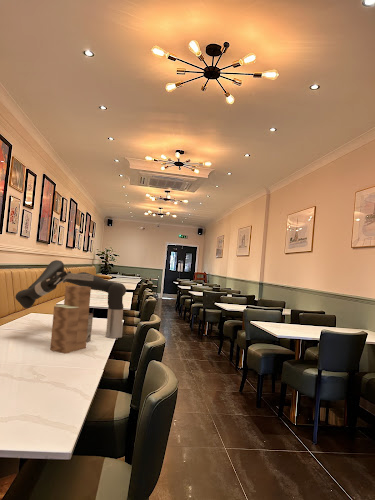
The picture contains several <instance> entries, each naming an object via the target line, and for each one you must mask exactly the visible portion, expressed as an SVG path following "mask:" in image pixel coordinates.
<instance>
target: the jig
mask: <svg viewBox="0 0 375 500" xmlns="http://www.w3.org/2000/svg"><path fill="white" fill-rule="evenodd" d="M64 289H65V291H64V301H63V304H62V305H61V304H60V305H59V304H58V305H54V307H53V316H52V327H51V336H50V337H51V339H50V348H49V349H50V351H51V352H52V351H53V352H57V353H62V354H69V353H72V352H76V351H79V350H84V349H86V348H87V342H86V340H87V329H88V317H89V313H90V304H91V303H90V302H91V291H92V289H91V287H85V286H79V285H65V288H64Z"/></svg>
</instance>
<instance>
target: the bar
mask: <svg viewBox="0 0 375 500" xmlns="http://www.w3.org/2000/svg"><path fill="white" fill-rule="evenodd" d="M61 273H62V272H57V275H58V274H61ZM66 273H67V272H66ZM94 275H95V274H92V275H88V274H76V273H73V272H71V273H67V275H66V276H64V277H62V278H65V279H76V280H87V281H93V278H94Z"/></svg>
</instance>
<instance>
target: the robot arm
mask: <svg viewBox="0 0 375 500" xmlns="http://www.w3.org/2000/svg"><path fill="white" fill-rule="evenodd" d="M57 272H62V273H61V274H58V275H57ZM67 273H72V272H71V271H66V270H65V265H64V262H63V261H61V260H58V259H55V260H52V261H50V263H48V265H47V266H46V268H45V269H44V271H43V272H42V273H41V274H40V276H39V277H38V278H37V279H36V280H35V281H33V283H32V284H31V285H29V286H28V288H25V289H23V290H22V289H21V290H19V291H18V292H17V293H16V294H15V300H16V301H17V302H18V303H19V304H20V305H21V307H22V308H24V309H30V308H32V307H33V306H34V304H35V302H36V300H38V299H40V298H41V297H43V296H46V295H47V294H49V293H51V292H52V291H55V289H56V288H57V286H58V285H60V284H61V283H62V284H63V283H64V284H65V283H69V284H73V285H75V286H85V287H91V291H92V290H93V291H98V292H99V291H101V292H104V293H107V319H106V330H105V331H106V332H105V337H106V338H110V339H120V338H122V337H123V330H124V322H123V318H124V317H123V316H124V303H123V298H124V296H125V295H126V293H127V288H126V286H125V284H123V283H121V282H115V281H111V280H108V279H104V278H102V277H100V276H97V275H95V274H92V273H89V272H86V271H85V272H84V271H80V272H78V273H76V274H88V275H94V278H93V281H87V280H76V279H65V278H62V277H64V276H66V275H67Z"/></svg>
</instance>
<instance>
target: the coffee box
mask: <svg viewBox="0 0 375 500" xmlns="http://www.w3.org/2000/svg"><path fill="white" fill-rule="evenodd" d="M93 317H94V313H92V312H91V313H90V312H89V317H88V329H87V340H86V343H90V342H91V340H92V339H91V338H92V330H93V329H92V328H93V322H94V321H93Z"/></svg>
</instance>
